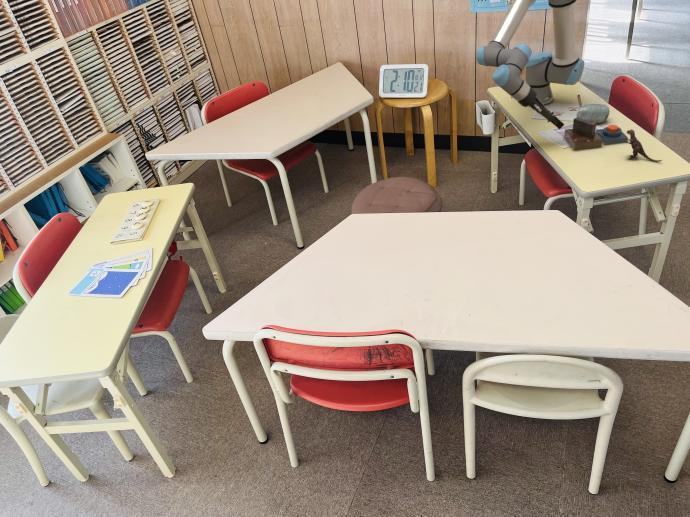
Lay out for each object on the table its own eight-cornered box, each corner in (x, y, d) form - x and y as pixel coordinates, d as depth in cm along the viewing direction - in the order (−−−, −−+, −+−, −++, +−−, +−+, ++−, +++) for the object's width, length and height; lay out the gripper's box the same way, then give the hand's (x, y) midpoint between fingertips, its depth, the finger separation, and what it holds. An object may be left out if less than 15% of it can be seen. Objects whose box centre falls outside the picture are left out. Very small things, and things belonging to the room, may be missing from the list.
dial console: (560, 137, 236) (561, 129, 234) (593, 133, 234) (594, 125, 232) (570, 151, 224) (571, 143, 222) (605, 147, 223) (606, 139, 221)
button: (605, 129, 228) (606, 125, 227) (615, 128, 227) (616, 124, 226) (609, 133, 224) (609, 129, 223) (619, 131, 224) (619, 128, 223)
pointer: (572, 131, 231) (573, 118, 227) (575, 130, 231) (577, 116, 227) (591, 138, 223) (592, 124, 219) (594, 137, 224) (596, 123, 220)
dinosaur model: (628, 127, 209) (670, 134, 201) (622, 153, 216) (662, 161, 209) (625, 132, 206) (667, 139, 199) (619, 158, 214) (659, 166, 206)
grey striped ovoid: (610, 109, 243) (607, 95, 235) (611, 126, 239) (608, 112, 231) (577, 115, 250) (574, 102, 242) (578, 132, 246) (575, 119, 238)
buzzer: (595, 134, 233) (596, 125, 230) (617, 131, 232) (618, 123, 229) (605, 145, 224) (606, 136, 222) (627, 142, 223) (628, 133, 221)
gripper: (513, 95, 227) (550, 126, 235) (520, 107, 217) (559, 139, 225) (526, 81, 223) (563, 113, 231) (534, 92, 213) (573, 126, 221)
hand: (561, 126), depth 228 cm, fingers closed
